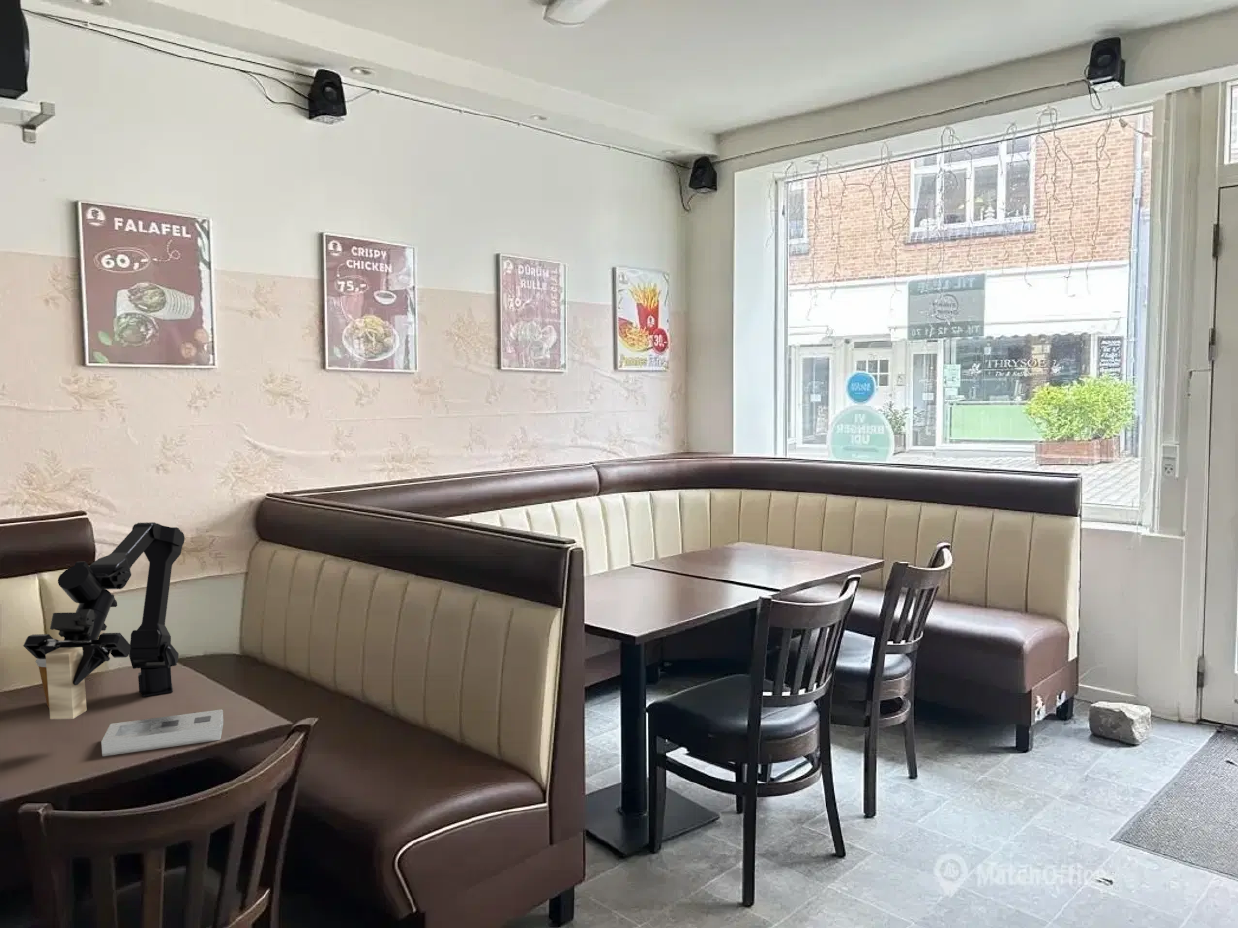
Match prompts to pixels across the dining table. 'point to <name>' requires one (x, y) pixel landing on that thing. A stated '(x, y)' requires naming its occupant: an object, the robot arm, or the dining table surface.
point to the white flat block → (162, 732)
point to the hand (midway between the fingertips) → (62, 684)
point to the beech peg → (65, 683)
